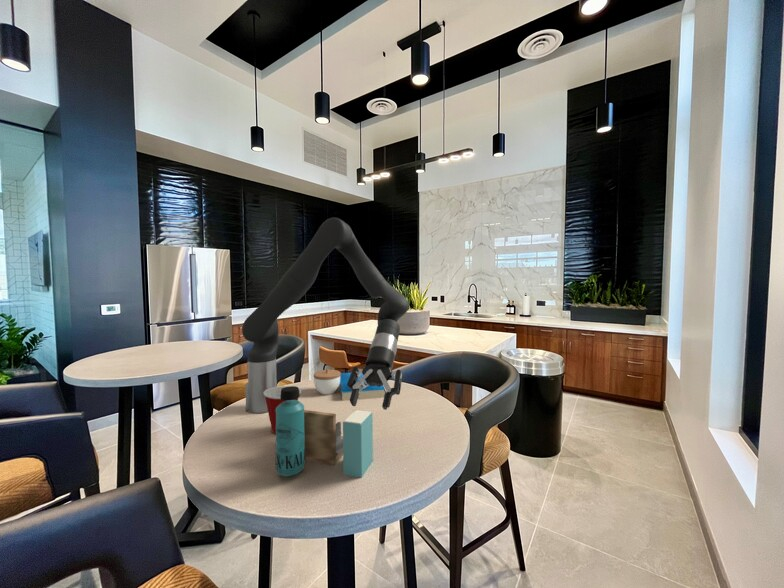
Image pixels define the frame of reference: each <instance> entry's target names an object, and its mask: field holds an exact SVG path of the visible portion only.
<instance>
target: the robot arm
mask: <svg viewBox="0 0 784 588" xmlns="http://www.w3.org/2000/svg"><path fill="white" fill-rule="evenodd" d="M335 249H336V250H337V251H338V252H339V253H340V254H342V256H343V257H344V258H345V259H346V260H347V261H348V263H349V264H350V266H351V268H352V271H353V272H354V274H355V275H356V276H355V277H357V279H358V281H359V283H360V284H361V286H363V288H364V289H365V291H366V292H367V293H368V295H369V296H370V297H371V298H372V299H375V300H376V299H378V298H382V299H383V300H384V301H385V302H383V304H382V305H381V306H380V308H379V310H378V312H377V327H376V330H375V334H374V336H373V339H372V342H371V344H370V346H369V350H368V354H367V358H366V361H365V366H364V367H363V368H358V366H353V368H352V370H351V372H350V373H351V375H350V378H349V381H348V383H347V386H348V387H349V389H350V390H352V393H351V397H350V400H349V403H350V405H351V406H352V407H356V406H357V403H358V400H359V399H358V396H359V392H360V391H361V390H362V389H363V388H366V387H367V386H368V385H370V386H377V387H381V386H382V385H383V386H384V388H385V391H386V392H385V395H384V397H383V400H382V409H383V410H385V411H386V410H388V409H389V408H390V406H391V403H392V402H391V401H392V399H393V398H392V397H393V396H395V395H397V396H398V395H400V394H401V388H402V383H403V382H402V381H403V373H402V371H401V370H400V369H397V370H395V371H394V370H393V366H394V362H395V358H396V355H397V350H398V340H399V336H400V332H401V331H400V330H401V327H400V324H399V323H398V321H399V320H400V318H402V317H403V316H404V315H405V314H407V313H408V311H409V307H410V306H409V302H408V299H407V298H406V297H405V296H404V295H403V294H402V293H401V292H400V291H398V289H396V288H394V287H393V286H392V285H391V284H389V282H388V280H386V279H385V278H384V276H383V274H381V272H380V271H379V270H378V268H377V267H376V266H375V264H374V263H373V262H372V261H371V259H370V258H369V257H368V256H367V254H366V253H365V252H364V250H363V248H362V247H361V244H360V243H359V242H358V239H357V238H356V236H355V234H354V232H353V230H352V228H351V226H350V225H349V223H346V222H345V221H344V220H342V219H340V218H339V217H330V218H328V219H326V220H325V221H323V222H322V224H321V225H320V226H319V227H318V229H317V231H316V233H315V234H314V236H313V237H312V238H311V240H310V242H309V243H308V244H307V246H306V247H305V249H304V250H303V251H302V252H301V254H300V255H299V256H298V257H297V259H296V260H295V261H294V262H293V264H292V265H291V266H290V267H289V268H288V269H287V271H286V272H285V273H284V274H283V275H282V277H281V278H280V280H279V281H278V282H277V284H276V285H275V286H274V287H273V289H272V290H271V291H270V293H268V295H267V297H265V299H264V300H263V302H261V304H260V305H259V306H257V307H256V309H254V311H253V312H251V314H249V316H247V317H246V319H245V320H244V322H243V323H242V325H241V326H242V328H241V334H242V336H243V339H245V340H246V341H248V342H251V343H253V345H252V347H251V349H250V350H249V351H248V353H247V382H246V383H245V410H246V412H249V413H253V414H264V413H268V408H267V404H266V400H265V396H264V394H263V392H264V391H265V390H267V389H269V388H273V387H278V384H277V382H278V381H277V353H278V350H279V335H280V333H279V322H278V320H277V319H278V318H279V317H280V316H281V315H282V314H284V312H286V311H287V310H288V309H289V308H291V307H292V306H293V305H295V304H296V303H297V302H298V301H300V300H301V299H302V297H304V296H305V294H306V293H307V292H308V291H309V290H310V289H311V287H312V285H314V283H315V281H316V279H317V277H318V274H319V271H320V269H321V266H322V264H323V262H324V261H325V260H326V258H327V257H329V254H331V252H332V251H333V250H335ZM361 374H363V376H362V377H361V378H360V379H359V380H358V382H357V379H358V377H360V375H361ZM392 378H393V380H394V383H393V387H391V386H390V385H389V382H388V381H389V380H390V379H392ZM365 380H366V381H365ZM364 381H365V382H364ZM356 382H357V383H356Z"/></svg>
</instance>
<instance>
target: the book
mask: <svg viewBox="0 0 784 588" xmlns="http://www.w3.org/2000/svg"><path fill="white" fill-rule="evenodd" d="M351 373H352V372H342V373H341V375H340V389H341V390H340V391H341V398H342V401H350V397H351V393H352V390H350V389H349V387H348V386H347V383H348V381H349V378H350V375H351ZM362 376H363V374H361V375H360V377H358V379H357V382H358V380H359V379H360V378H361V377H362ZM365 381H366V380H365ZM365 381H364V382H365ZM357 382H356V383H357ZM385 392H387V391H386V389H385V387H384V385H382V386H381V387H377V386H370V385H368V386H367V387H366V388H363V389H362V390H361V391H360V392H359V396H358V400H366V399H367V400H368V399H381V398H382V399H383V398H384V395H385Z"/></svg>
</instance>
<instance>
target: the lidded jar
mask: <svg viewBox="0 0 784 588" xmlns="http://www.w3.org/2000/svg"><path fill="white" fill-rule="evenodd" d="M340 375H341V371H339V370H338V369H337V370H336V369H329V368H326V369H323V370H319V371H316V372H314V373H313V383H314V387H315V389H316V390H317V391H318V392H319V394H320V395H324V396H325V395H333V394H335V393H336V391H337V390H338V388H339V387H340V386H341V383H340Z"/></svg>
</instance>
